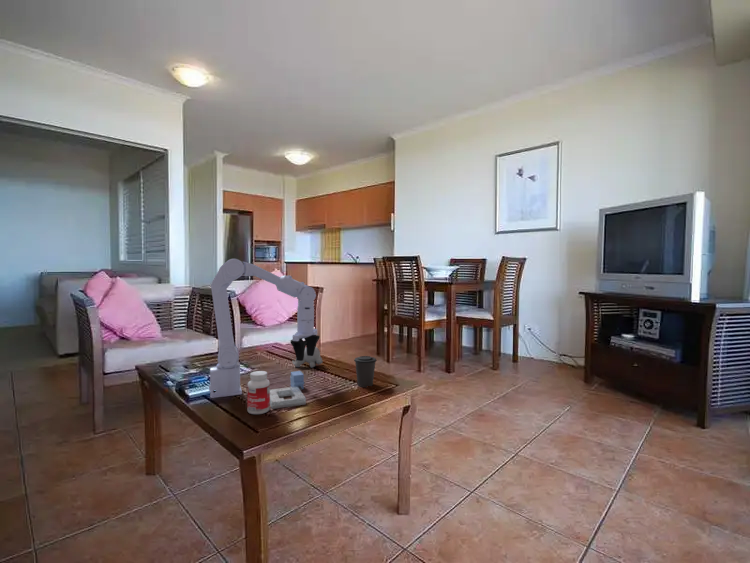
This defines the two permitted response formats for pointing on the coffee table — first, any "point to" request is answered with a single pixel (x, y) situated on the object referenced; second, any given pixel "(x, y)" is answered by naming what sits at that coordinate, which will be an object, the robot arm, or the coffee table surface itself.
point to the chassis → (283, 392)
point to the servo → (297, 379)
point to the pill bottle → (258, 393)
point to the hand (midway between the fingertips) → (305, 358)
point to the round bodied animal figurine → (310, 359)
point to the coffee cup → (365, 370)
